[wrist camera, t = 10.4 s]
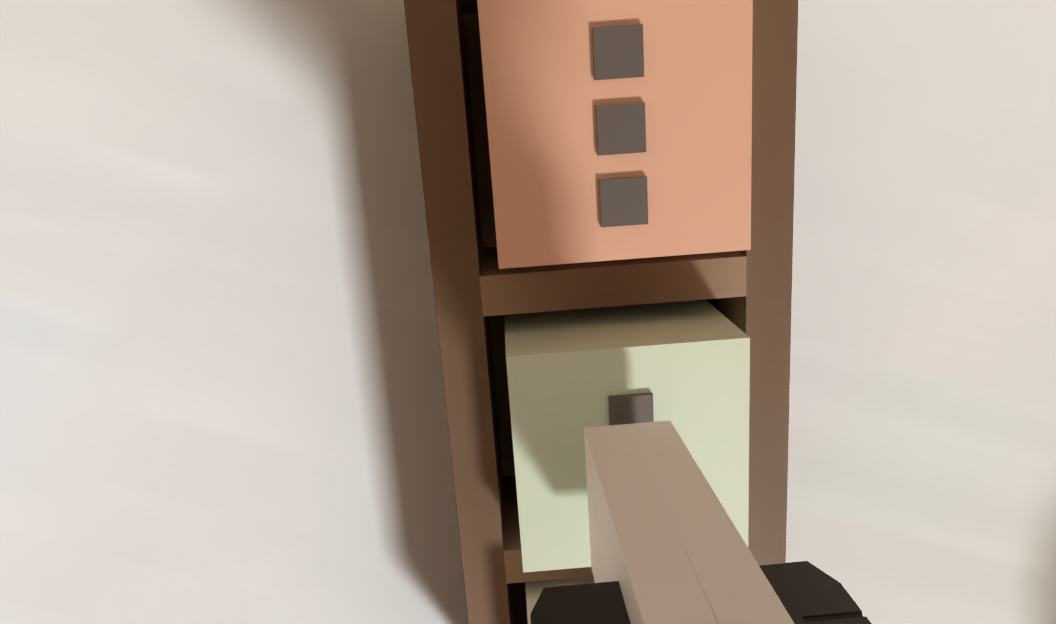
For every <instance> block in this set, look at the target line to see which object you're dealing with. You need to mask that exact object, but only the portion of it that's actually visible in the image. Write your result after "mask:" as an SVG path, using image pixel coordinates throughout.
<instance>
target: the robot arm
mask: <svg viewBox="0 0 1056 624" xmlns="http://www.w3.org/2000/svg"><path fill="white" fill-rule="evenodd" d="M584 441H585V460H586V478H587V496H588V515H589V533H590V552H591V568H592V573H593V577H594V582H595V583H590V584H579V585H568V586H557V587H545V588H543V590H542V592H541V594H540V596H539V598H538V600H537V602H536V604H535V606H534V608H533V610H532V612H531V614H530V618H531V624H871V623H870V621H869V620H868V619H867V617H863V616H862V611H861V610H860V608H859V607H858V606H857V604H856V603H855V602H854V600H853V599H852V598H851V596H850V595H849V594H848V593H847V591H846V590H845V589H844V587H843V586H842V585H841V583H839V582H838V581H836V580H835V579H833V578H832V577H830V576H829V575H827V574H826V573H824V572H823V571H821V570H820V569H818V568H817V567H815V566H814V565H812V564H811V563H809V562H808V561H804V562H792V563H781V564H770V565H758V563H757V562H756V560H755V558H754V557H753V555H752V553H751V552H750V550H749V548H748V547H747V545H746V544H745V542H744V540H743V539H742V537H741V535H740V534H739V532H738V530H737V529H736V527H735V526H734V524H733V522H732V521H731V519H730V517H729V516H728V514H727V512H726V511H725V509H724V508H723V506H722V504H721V503H720V501H719V499H718V498H717V496H716V494H715V493H714V491H713V490H712V488H711V486H710V485H709V483H708V481H707V480H706V478H705V477H704V475H703V473H702V472H701V470H700V468H699V467H698V465H697V463H696V462H695V460H694V459H693V457H692V455H691V454H690V452H689V450H688V449H687V447H686V445H685V444H684V442H683V441H682V439H681V437H680V436H679V434H678V432H677V431H676V429H675V427H674V426H673V424H672V423H671V421H658V422H646V423H634V424H622V425H610V426H598V427H586V428H584Z"/></svg>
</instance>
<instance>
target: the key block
mask: <svg viewBox="0 0 1056 624" xmlns="http://www.w3.org/2000/svg"><path fill="white" fill-rule="evenodd" d="M404 6H405V15H406V25H407V35H408V44H409V54H410V64H411V73H412V83H413V92H414V102H415V112H416V121H417V131H418V141H419V150H420V160H421V169H422V179H423V189H424V198H425V208H426V218H427V227H428V237H429V246H430V256H431V266H432V275H433V285H434V295H435V304H436V314H437V323H438V333H439V343H440V352H441V362H442V372H443V381H444V391H445V400H446V410H447V420H448V429H449V439H450V449H451V458H452V468H453V477H454V487H455V497H456V506H457V516H458V526H459V535H460V545H461V554H462V564H463V574H464V583H465V593H466V603H467V612H468V622H469V624H528V620H527V604H526V587H525V582H533V581H545V580H557V579H569V578H580V577H592V576H593V573H592V568H591V567H583V568H571V569H559V570H548V571H536V572H524V573H523V564H522V551H521V539H520V526H519V514H518V502H517V489H516V477H515V464H514V452H513V439H512V427H511V414H510V402H509V390H508V377H507V365H506V346H505V318H504V315H509V314H522V313H535V312H548V311H561V310H574V309H587V308H600V307H613V306H626V305H639V304H652V303H665V302H678V301H691V300H704V299H705V300H706V301H708V302H709V303H710V304H711V305H712V306H713V307H715V308H716V309H717V310H718V311H719V312H721V313H722V314H723V315H724V316H725V317H726V318H728V319H729V320H730V321H731V322H732V323H733V324H735V325H736V326H737V327H738V328H739V329H740V330H742V331H743V332H744V333H745V334H746V335H747V336H749V337H750V401H749V525H748V548H749V550H750V552H751V553H752V555H753V557H754V558H755V560H756V562H757V563H758V565H770V564H781V563H785V556H786V512H787V468H788V424H789V380H790V335H791V291H792V247H793V203H794V159H795V114H796V70H797V26H798V0H753V35H752V159H751V250H743V251H729V252H716V253H703V254H690V255H676V256H663V257H650V258H637V259H623V260H610V261H597V262H584V263H570V264H557V265H544V266H531V267H517V268H504V269H499V265H498V253H497V240H496V228H495V215H494V203H493V191H492V178H491V166H490V153H489V141H488V128H487V116H486V103H485V91H484V79H483V66H482V54H481V41H480V29H479V16H478V4H477V0H404Z"/></svg>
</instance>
